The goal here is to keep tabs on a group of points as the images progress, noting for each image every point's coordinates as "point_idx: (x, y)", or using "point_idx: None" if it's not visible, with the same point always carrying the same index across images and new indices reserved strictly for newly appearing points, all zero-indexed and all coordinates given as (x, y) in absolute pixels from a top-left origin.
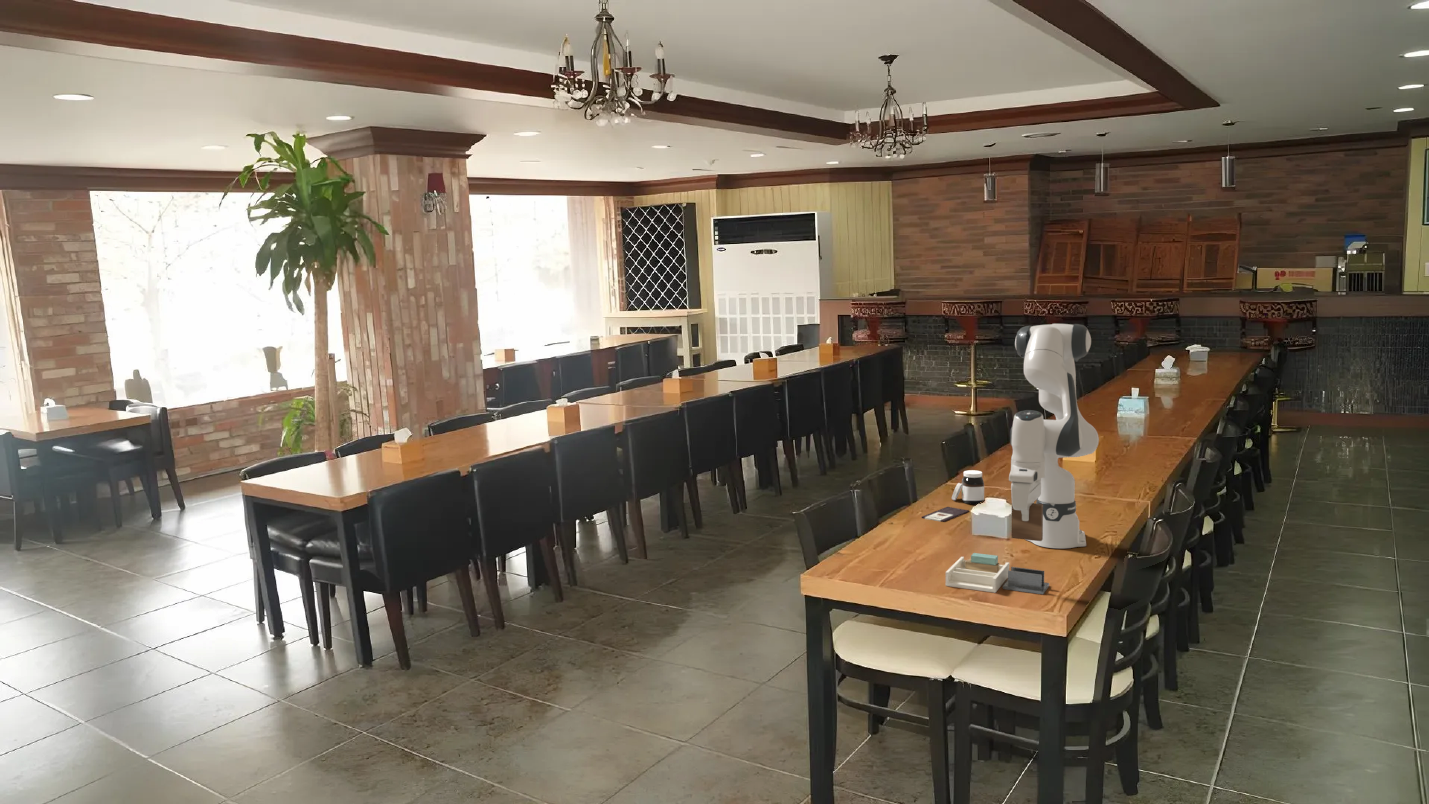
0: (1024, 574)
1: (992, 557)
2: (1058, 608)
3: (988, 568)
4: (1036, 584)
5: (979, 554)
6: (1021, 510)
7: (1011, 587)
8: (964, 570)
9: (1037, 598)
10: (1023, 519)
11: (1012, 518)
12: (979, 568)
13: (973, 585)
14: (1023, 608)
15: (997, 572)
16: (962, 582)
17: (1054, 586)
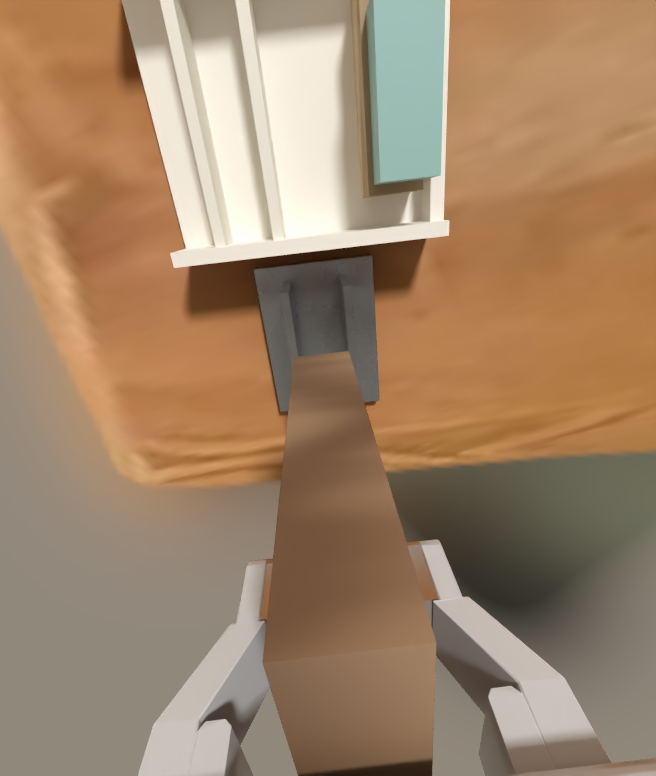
0: (291, 362)
1: (395, 156)
2: (190, 473)
3: (363, 149)
4: None
5: (424, 42)
6: (178, 702)
7: (260, 305)
8: (240, 27)
9: (235, 403)
10: (250, 577)
11: (285, 455)
12: (360, 91)
13: (171, 147)
14: (115, 398)
15: (380, 195)
16: (174, 69)
17: (380, 410)
